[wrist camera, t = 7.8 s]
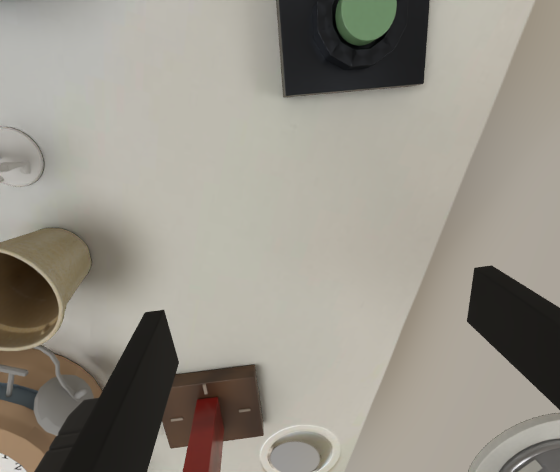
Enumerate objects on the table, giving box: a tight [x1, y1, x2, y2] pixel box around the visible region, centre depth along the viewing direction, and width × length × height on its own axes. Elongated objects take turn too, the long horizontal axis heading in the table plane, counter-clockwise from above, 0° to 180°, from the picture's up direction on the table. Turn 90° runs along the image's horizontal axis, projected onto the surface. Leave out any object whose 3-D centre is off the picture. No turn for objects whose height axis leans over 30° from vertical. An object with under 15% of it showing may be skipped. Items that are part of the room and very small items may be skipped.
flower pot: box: [0, 228, 92, 351], centre depth 28 cm, size 9×9×9 cm
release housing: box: [276, 0, 429, 97], centre depth 25 cm, size 12×10×4 cm
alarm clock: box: [0, 345, 102, 472], centre depth 33 cm, size 17×9×23 cm
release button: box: [335, 0, 397, 46], centre depth 23 cm, size 4×4×2 cm
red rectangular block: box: [183, 397, 224, 472], centre depth 34 cm, size 6×2×9 cm, turn 4°
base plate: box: [162, 365, 264, 448], centre depth 39 cm, size 12×10×2 cm
